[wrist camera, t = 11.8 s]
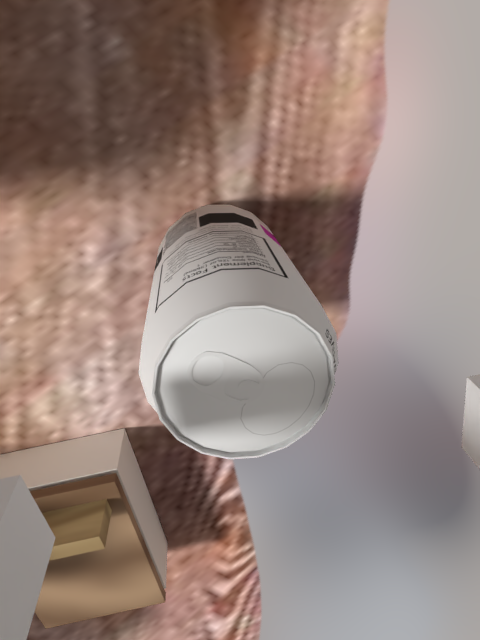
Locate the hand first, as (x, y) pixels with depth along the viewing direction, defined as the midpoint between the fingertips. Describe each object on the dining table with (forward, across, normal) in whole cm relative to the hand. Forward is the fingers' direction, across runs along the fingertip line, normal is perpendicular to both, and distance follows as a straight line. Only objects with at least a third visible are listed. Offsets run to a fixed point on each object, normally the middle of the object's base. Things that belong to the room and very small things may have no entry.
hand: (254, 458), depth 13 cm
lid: (+14, -15, -19) cm, 28 cm away
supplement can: (+19, 0, 0) cm, 19 cm away
